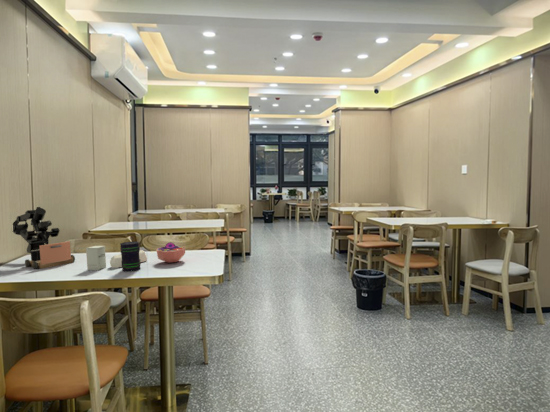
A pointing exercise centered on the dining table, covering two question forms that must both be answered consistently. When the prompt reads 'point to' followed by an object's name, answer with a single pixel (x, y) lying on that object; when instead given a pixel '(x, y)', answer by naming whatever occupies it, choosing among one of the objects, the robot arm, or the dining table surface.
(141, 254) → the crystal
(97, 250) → the supplement box
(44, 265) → the cart bed
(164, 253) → the cell model
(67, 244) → the panel
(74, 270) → the dining table surface
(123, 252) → the storage jar
